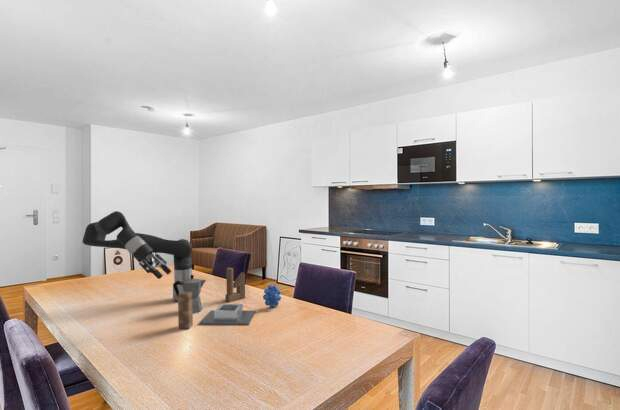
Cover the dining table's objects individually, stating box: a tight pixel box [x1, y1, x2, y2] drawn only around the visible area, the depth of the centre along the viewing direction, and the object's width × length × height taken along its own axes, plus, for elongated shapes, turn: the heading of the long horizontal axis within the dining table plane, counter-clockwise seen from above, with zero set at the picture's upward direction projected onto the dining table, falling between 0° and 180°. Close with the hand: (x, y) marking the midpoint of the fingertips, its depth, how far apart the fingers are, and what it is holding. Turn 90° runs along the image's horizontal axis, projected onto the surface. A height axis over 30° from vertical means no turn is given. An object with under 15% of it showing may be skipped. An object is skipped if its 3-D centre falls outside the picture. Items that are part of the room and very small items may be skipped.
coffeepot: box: [172, 274, 207, 314], centre depth 169 cm, size 15×9×18 cm, turn 110°
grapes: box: [262, 284, 282, 309], centre depth 173 cm, size 12×7×12 cm, turn 138°
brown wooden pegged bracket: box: [224, 267, 246, 303], centre depth 188 cm, size 4×11×18 cm, turn 137°
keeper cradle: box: [199, 303, 256, 326], centre depth 159 cm, size 22×16×5 cm
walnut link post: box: [177, 292, 194, 330], centre depth 148 cm, size 4×4×15 cm
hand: (165, 275), depth 148 cm, fingers open, 8 cm apart
